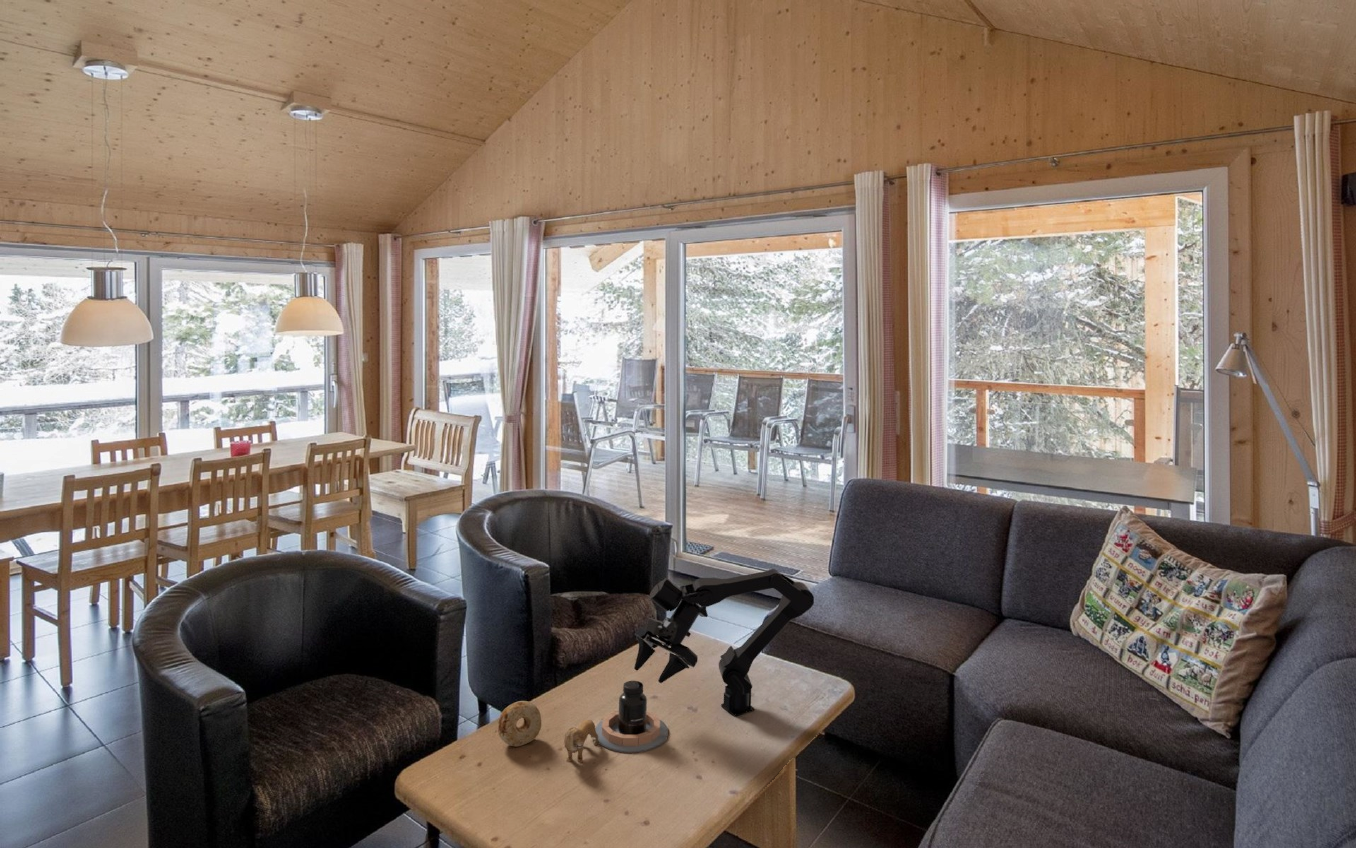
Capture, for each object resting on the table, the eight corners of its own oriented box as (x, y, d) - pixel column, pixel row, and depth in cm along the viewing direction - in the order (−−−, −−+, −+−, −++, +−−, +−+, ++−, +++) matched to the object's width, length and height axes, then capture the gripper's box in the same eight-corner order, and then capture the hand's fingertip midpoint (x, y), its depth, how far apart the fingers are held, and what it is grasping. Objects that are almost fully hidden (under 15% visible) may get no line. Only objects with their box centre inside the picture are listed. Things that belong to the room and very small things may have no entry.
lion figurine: (582, 772, 179) (582, 734, 178) (559, 769, 180) (559, 732, 179) (602, 739, 194) (602, 704, 192) (581, 736, 195) (581, 701, 193)
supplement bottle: (636, 741, 192) (636, 693, 190) (612, 733, 195) (613, 686, 194) (651, 729, 197) (652, 682, 196) (629, 721, 201) (629, 676, 199)
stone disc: (502, 753, 187) (502, 712, 185) (497, 746, 190) (496, 706, 188) (544, 741, 192) (544, 701, 191) (538, 734, 195) (537, 695, 194)
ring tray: (645, 708, 209) (645, 699, 208) (681, 740, 194) (681, 730, 193) (582, 726, 199) (582, 716, 199) (615, 760, 184) (615, 750, 184)
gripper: (640, 595, 206) (605, 648, 200) (689, 616, 192) (654, 673, 186) (663, 618, 212) (630, 669, 206) (712, 639, 199) (679, 695, 193)
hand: (647, 676), depth 198 cm, fingers open, 9 cm apart
